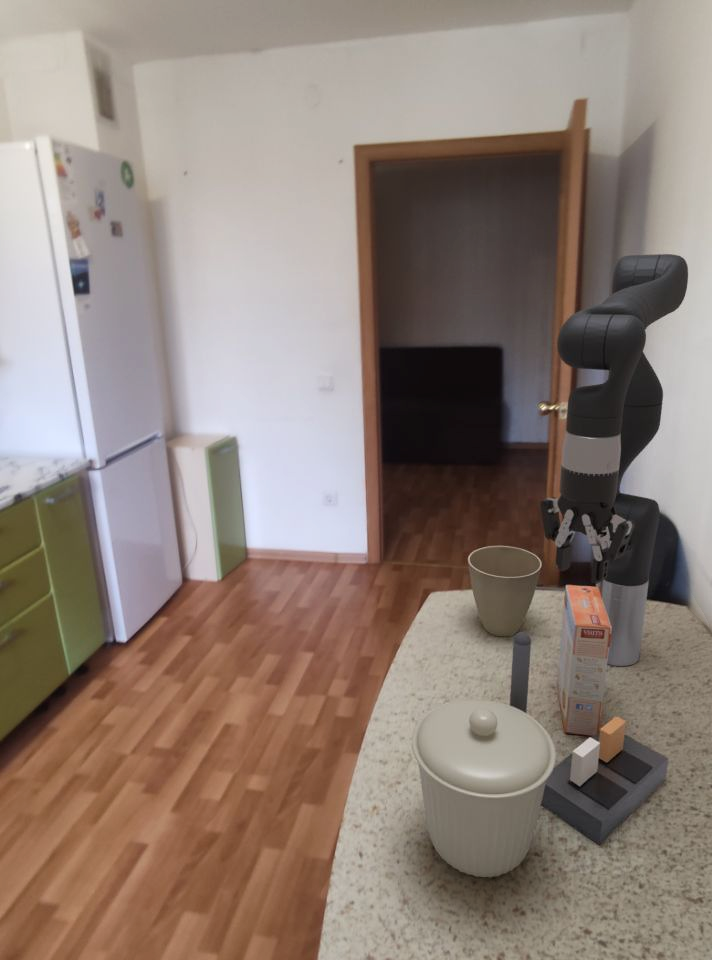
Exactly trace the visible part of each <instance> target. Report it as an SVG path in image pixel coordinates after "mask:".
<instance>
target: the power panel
mask: <svg viewBox="0 0 712 960" xmlns="http://www.w3.org/2000/svg"><path fill="white" fill-rule="evenodd" d="M599 735H600V730H599V732H598V733H596V734H595V735H594V736H590V737H591V738H593V739H594V740H596V741H598V742H599ZM571 763H572V752H571V753H570V754H569V755H568V756H567V757H565V758H564V759H563V760H562V761H560V762H559V763H558V764H557V765H556V766H554V769H553V771H552V773H551V775H550V776H549V778H548V779H547V780H546V784H545V789H544V793H543V797H542V802H541V806H543V807H544V808H545V809H547V810H548V811H550V812H551V813H553V815H555V816H556V817H558V818H559V819H561V820H562V821H564V822H565V823H567V824H568V825H569V826H571V827H572V828H574V830H576V831H578V832H579V833H581V834H582V835H584V836H585V837H586V838H588V839H589V840H591V841H592V842H594V843H595V844H596V845H597V846H601V845H602V843H604V842H605V841H606V840H607V839H608V838H609V837H610V836H611V835H612V834H613V833H614V832H615V831H616V830H617V829H618V828H619V827H620V826H621V824H623V823H624V822H625V821H626V820H627V819H628V818H629V817H630V816H631V815H632V814H634V813H635V811H636V810H637V809H638V808H639V807H640V806H641V805H642V804H643V803H644V802H645V801H646V800H648V798H649V797H650V796H651V795H652V794H653V793H654V792H655V791H656V790H657V789H658V788H659V787H660V786H661V785H662V784H663V783H664V782H665V781H666V777H667V771H668V766H669V758H668V757H667V756H665V755H663V754H662V753H659V752H658V751H656V750H654V749H652V748H650V747H649V746H648V745H644V744H643V743H641V742H639V741H637V740H636V739H634V738H632V737H630V736H629V735H626V734H625V735H624V743H623V749H622V750H621V751H620V752H619V753H618V754H617V755H615V756H614V757H613V758H612V759H611V760H610V761H608V762H607V763H606V762H605V761H603V760H601V759H600V758H599V759H598V768H597V772H596V773H595V774H594V775H592V776H591V777H590V778H589V779H588V780H587V781H585V782H584V783H583V784H582V785H581V786H578V785H577V784H575V783H574V782H572V781H571V780H570V773H571Z"/></svg>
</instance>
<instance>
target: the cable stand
mask: <svg viewBox="0 0 712 960" xmlns="http://www.w3.org/2000/svg"><path fill="white" fill-rule="evenodd" d="M531 646H532V639H531V637H530V635H529V634H528V633H527V632H523V631H519V632H517V633H515V634H514V636H513V643H512V657H511V658H512V660H511V661H512V662H511V678H510V694H509V696H510V697H509V705H510V706H513V707H515V708H517V709H519V710H521V711H523V712H525V713H527V708H528V706H527V705H528V694H529V679H530V678H529V676H530V662H531V660H530V659H531V650H532V649H531V648H532V647H531Z"/></svg>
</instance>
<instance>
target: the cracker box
mask: <svg viewBox="0 0 712 960" xmlns="http://www.w3.org/2000/svg"><path fill="white" fill-rule="evenodd" d="M564 588H565V589H564V599H563V600H564V601H563V612H562V625H561V635H560V636H561V637H560V644H559V645H560V646H559V657H558V665H557V679H556V688H557V693H558V695H557V697H558V701H559V708H560V713H561V720H562V727H563V733H564V734H572V735H578V736H579V735H581V736H589V737H593V736H594V735H595V734H596V733H598V732H599V731H600V729H601V727H600V725H601V719H602V710H603V701H604V694H605V686H606V678H607V667H608V664H607V661H608V653H609V646H610V637H611V629H612V627H611V624H610V621H609V618H608V615H607V612H606V609H605V606H604V603H603V600H602V597H601V593H600V590H599V588H598V587H596V586H591V585H575V584H574V585H573V584H566V585H565V587H564Z"/></svg>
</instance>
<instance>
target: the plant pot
mask: <svg viewBox="0 0 712 960" xmlns="http://www.w3.org/2000/svg"><path fill="white" fill-rule="evenodd" d="M542 563H543V562H542V560H541V558H539V557H538V556H537V555H536V554H535V553H533V552H531V551H528V550H527V549H523V548H520V547H517V546H516V547H515V546H510V545H509V546H508V545H491V546H489V545H488V546H484V547H481V548H480V547H479V548H478V549H475V550H473V551H472V552H470V553H469V555H468V557H467V564H468V571H469V579H470V585H471V589H472V590H471V591H472V593H473V594H472V595H473V598H474V602H475V606H476V609H477V613H478V614H479V618H480V621H481V623H482V626H483V628H484V630H485V631H486V632H488V634H491V635H494V636H498V637H511V636H513V635H514V636H515V635H516V634H517V633H519V632H518V631H519V630H520V628H521V626H522V624H523V623H524V620H525V618H526V616H527V614H528V611H529V609H530V606H531V604H532V601H533V598H534V596H535V592H536V589H537V586H538V581H539V578H540V573H541V571H542V570H541V569H542Z"/></svg>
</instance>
